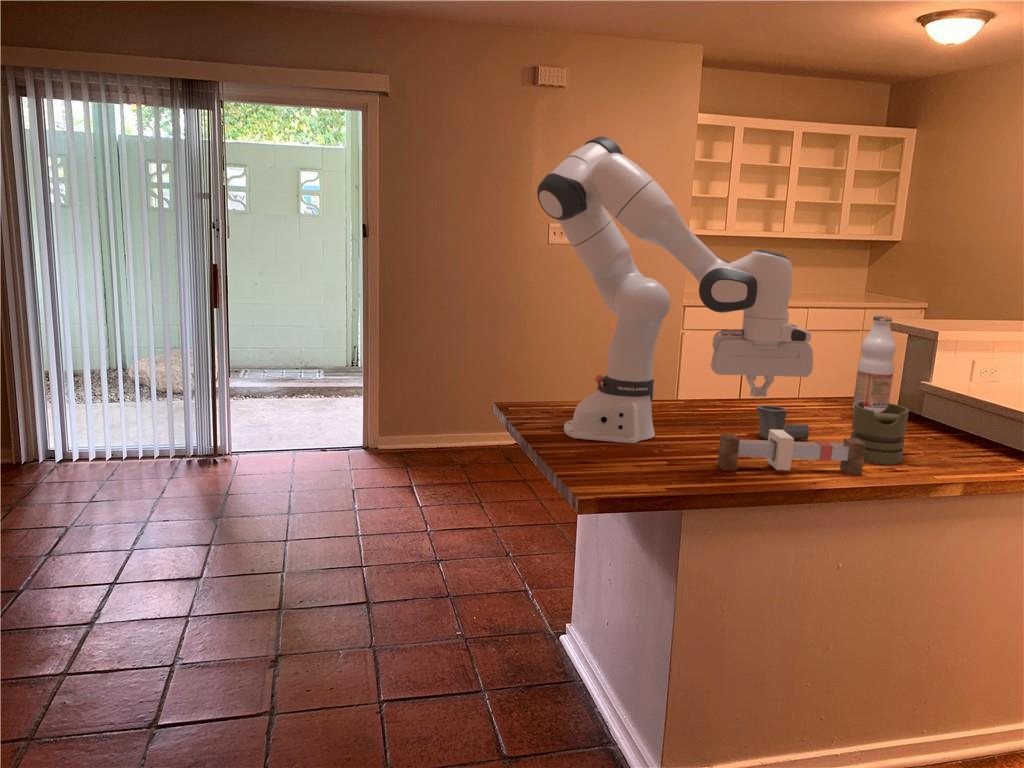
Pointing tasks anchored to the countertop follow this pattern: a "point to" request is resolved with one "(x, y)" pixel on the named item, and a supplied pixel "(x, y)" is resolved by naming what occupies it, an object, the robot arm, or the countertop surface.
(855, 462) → the posts
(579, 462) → the countertop surface
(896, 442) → the piston
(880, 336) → the fruit juice
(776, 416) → the pipe
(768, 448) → the steel rail
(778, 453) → the collar
